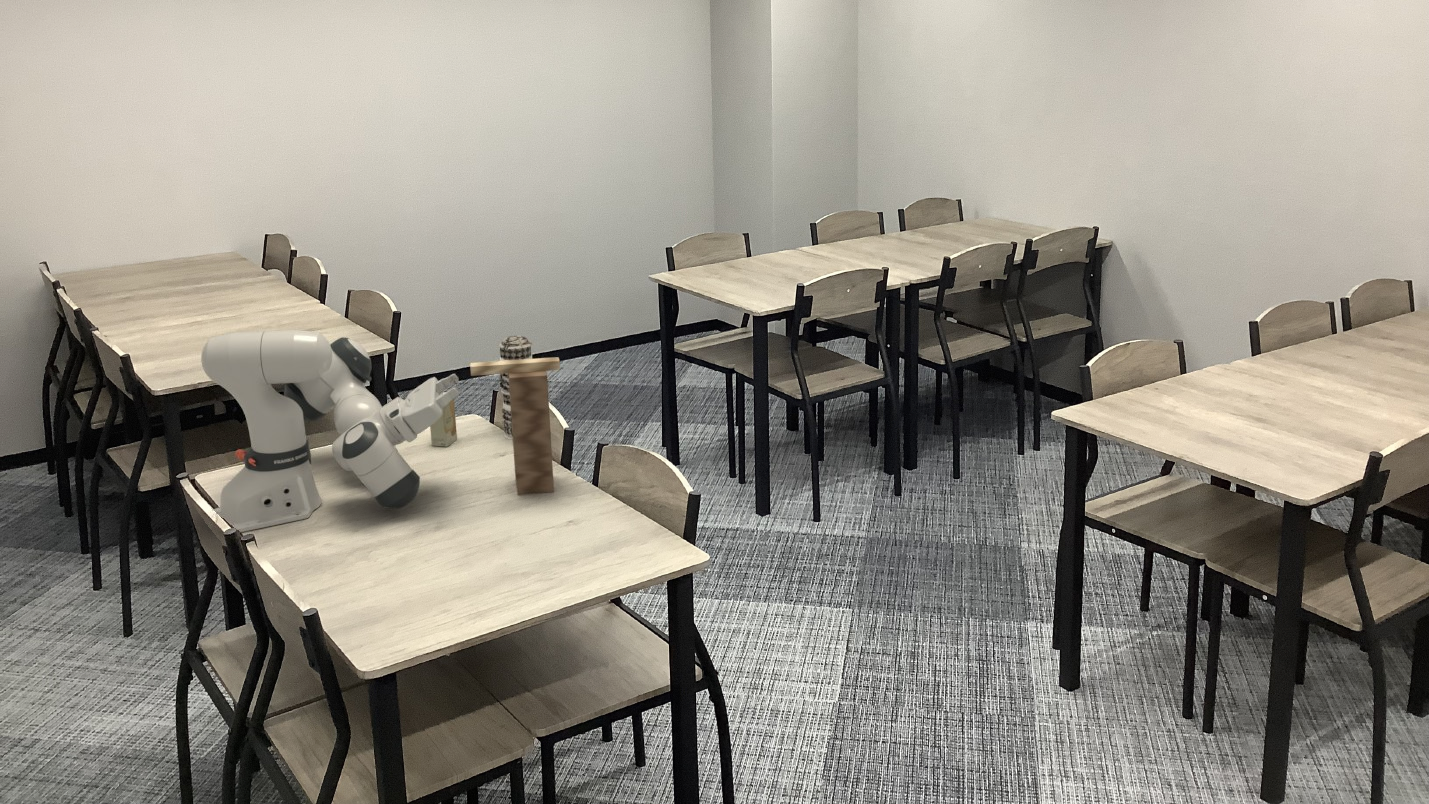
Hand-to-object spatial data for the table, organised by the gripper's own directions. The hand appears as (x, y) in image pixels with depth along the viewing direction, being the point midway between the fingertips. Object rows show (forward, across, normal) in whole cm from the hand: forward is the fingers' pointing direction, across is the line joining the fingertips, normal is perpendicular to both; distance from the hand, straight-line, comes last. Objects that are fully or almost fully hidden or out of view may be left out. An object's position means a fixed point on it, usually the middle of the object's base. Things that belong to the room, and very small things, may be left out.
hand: (457, 383), depth 258 cm
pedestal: (+1, 0, -29) cm, 29 cm away
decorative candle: (-1, -34, -29) cm, 45 cm away
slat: (+12, 0, -5) cm, 13 cm away
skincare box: (-17, -33, -20) cm, 42 cm away
